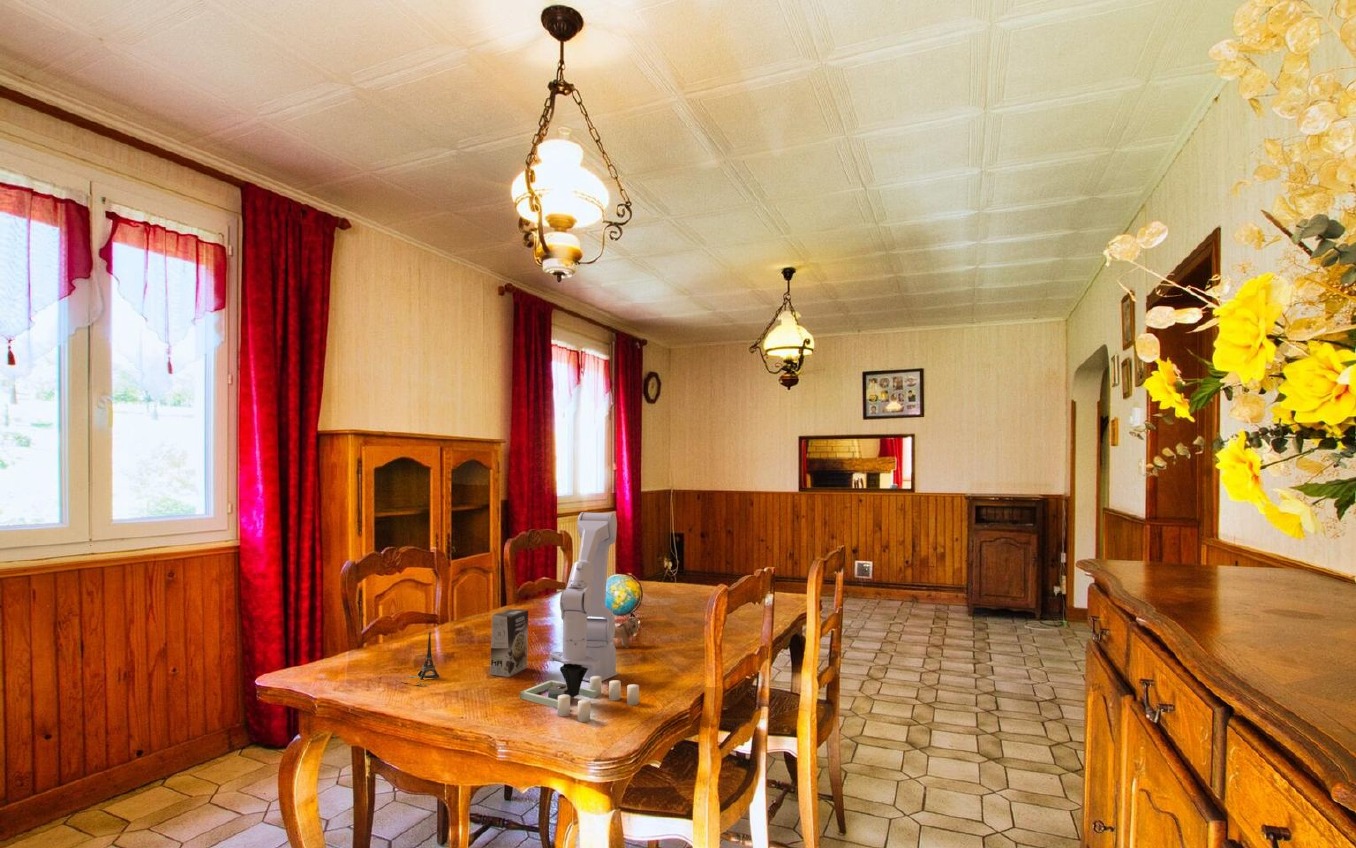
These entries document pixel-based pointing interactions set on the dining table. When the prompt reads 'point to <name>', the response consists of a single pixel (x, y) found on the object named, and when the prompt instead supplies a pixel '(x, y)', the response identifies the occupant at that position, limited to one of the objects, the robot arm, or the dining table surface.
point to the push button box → (558, 691)
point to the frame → (532, 696)
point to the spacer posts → (596, 685)
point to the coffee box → (509, 642)
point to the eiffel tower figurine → (427, 665)
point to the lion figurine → (626, 630)
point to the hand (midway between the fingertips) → (573, 695)
